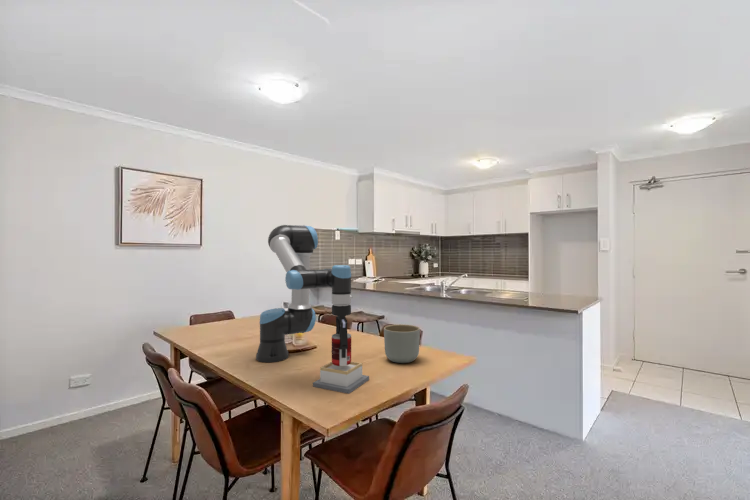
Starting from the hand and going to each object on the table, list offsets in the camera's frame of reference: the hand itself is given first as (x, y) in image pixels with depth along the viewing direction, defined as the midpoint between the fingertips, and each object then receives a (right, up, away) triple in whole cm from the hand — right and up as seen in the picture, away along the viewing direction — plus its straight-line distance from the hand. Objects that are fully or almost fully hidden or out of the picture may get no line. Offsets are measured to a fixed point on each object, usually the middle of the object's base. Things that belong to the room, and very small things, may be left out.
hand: (341, 362), depth 143 cm
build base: (0, -8, 0) cm, 8 cm away
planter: (+26, -8, +29) cm, 40 cm away
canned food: (0, -1, 0) cm, 1 cm away
